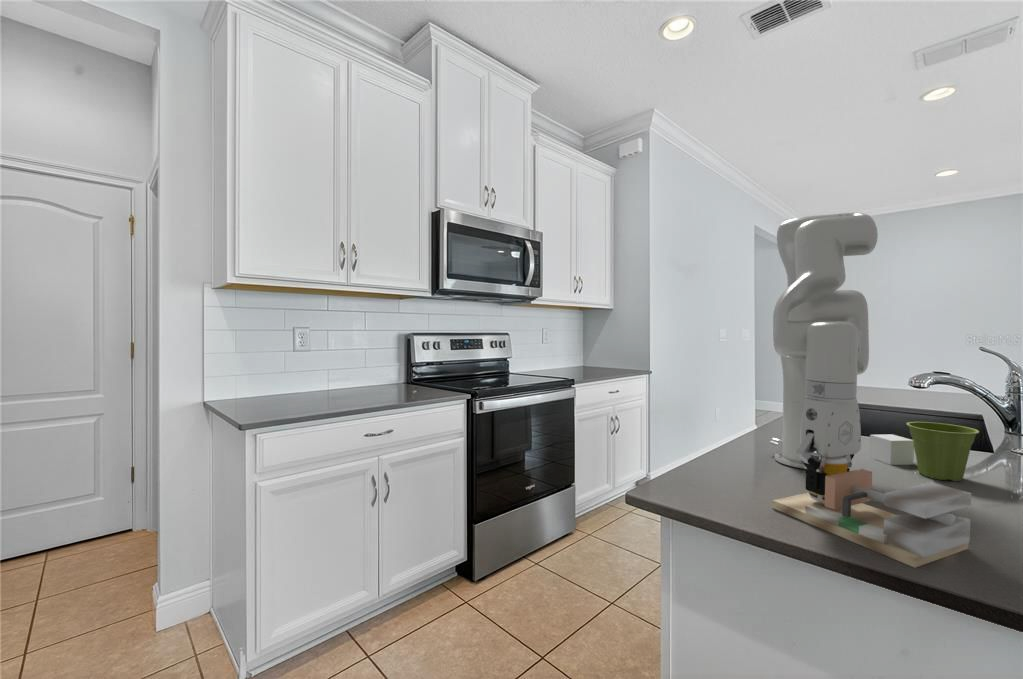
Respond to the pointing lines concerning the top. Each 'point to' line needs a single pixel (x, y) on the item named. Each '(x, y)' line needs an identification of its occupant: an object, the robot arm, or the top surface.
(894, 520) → the frame
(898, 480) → the top surface
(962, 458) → the plant pot
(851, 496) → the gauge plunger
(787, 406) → the robot arm
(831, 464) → the supplement bottle
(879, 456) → the white cube
